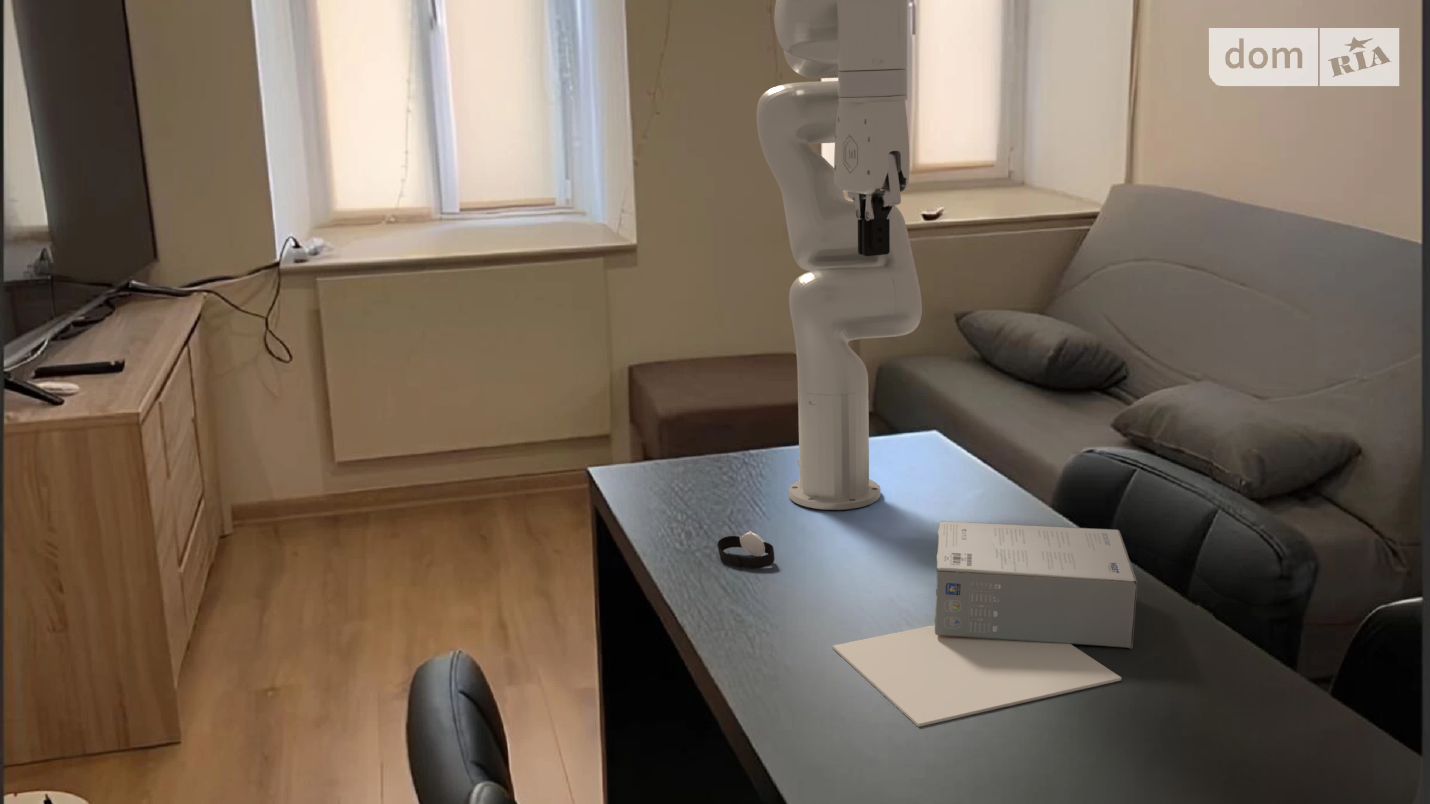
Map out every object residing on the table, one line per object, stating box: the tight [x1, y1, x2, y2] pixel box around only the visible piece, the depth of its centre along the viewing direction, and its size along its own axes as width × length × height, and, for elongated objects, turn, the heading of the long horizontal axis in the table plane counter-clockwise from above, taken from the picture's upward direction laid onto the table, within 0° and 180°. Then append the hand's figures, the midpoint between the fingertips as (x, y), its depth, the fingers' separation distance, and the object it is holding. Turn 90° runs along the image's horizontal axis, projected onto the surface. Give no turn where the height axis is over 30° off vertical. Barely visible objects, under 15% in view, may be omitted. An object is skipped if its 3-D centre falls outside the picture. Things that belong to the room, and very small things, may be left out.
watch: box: [716, 530, 776, 569], centre depth 159 cm, size 8×5×4 cm, turn 54°
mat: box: [832, 624, 1122, 728], centre depth 130 cm, size 18×22×1 cm
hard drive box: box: [934, 520, 1138, 649], centre depth 140 cm, size 16×8×20 cm
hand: (873, 254), depth 148 cm, fingers closed
